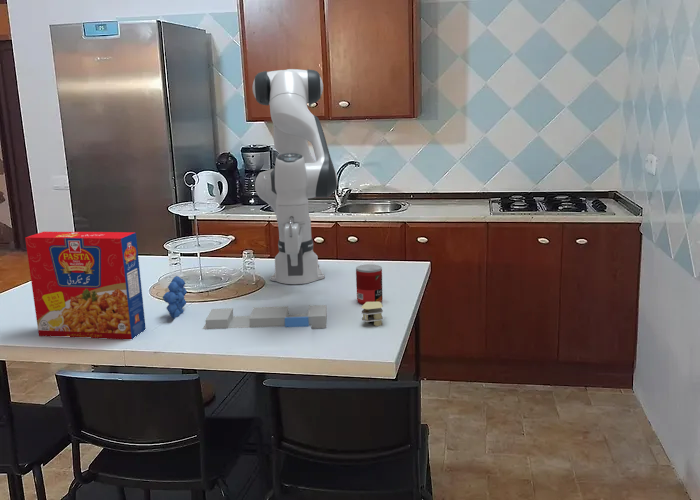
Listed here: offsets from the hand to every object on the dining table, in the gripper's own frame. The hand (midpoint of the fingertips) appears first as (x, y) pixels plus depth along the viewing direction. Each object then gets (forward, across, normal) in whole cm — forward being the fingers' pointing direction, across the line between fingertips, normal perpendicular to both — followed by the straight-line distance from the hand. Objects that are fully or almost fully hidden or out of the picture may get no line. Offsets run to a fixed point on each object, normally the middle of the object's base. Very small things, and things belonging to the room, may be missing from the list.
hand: (295, 263), depth 192 cm
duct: (+18, 0, +9) cm, 20 cm away
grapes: (+18, +10, +37) cm, 42 cm away
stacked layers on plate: (+18, -2, -21) cm, 28 cm away
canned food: (+18, +18, -21) cm, 33 cm away
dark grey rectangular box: (+3, 0, 0) cm, 3 cm away
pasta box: (+18, -2, +57) cm, 60 cm away
